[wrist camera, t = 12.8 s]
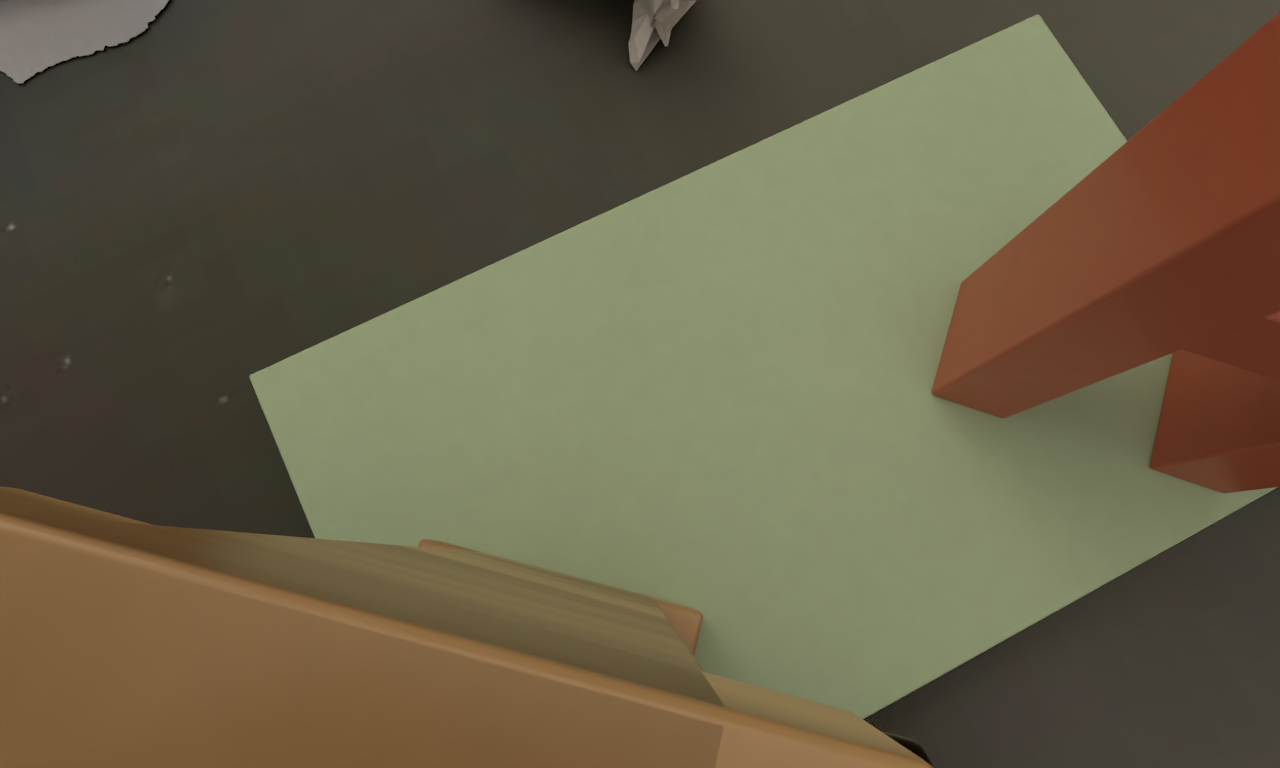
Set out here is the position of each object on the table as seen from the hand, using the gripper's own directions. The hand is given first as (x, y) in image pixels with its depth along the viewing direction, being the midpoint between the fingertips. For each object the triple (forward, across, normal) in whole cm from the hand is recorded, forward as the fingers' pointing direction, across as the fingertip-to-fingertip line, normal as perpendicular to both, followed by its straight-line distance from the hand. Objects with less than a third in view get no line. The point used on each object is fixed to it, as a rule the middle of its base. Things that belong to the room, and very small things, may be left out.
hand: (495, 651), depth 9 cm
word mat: (+10, -4, +2) cm, 11 cm away
